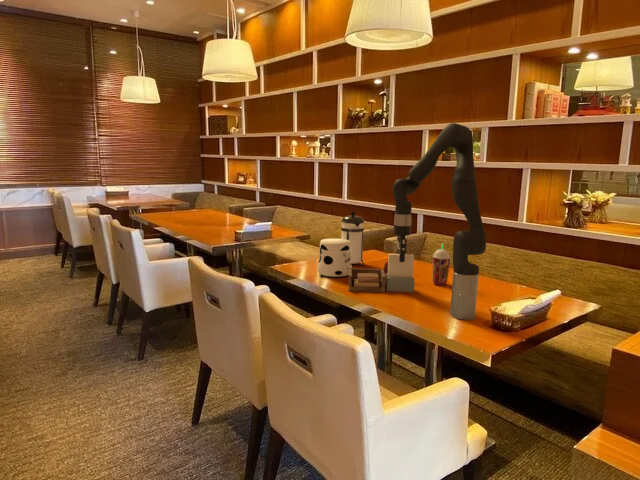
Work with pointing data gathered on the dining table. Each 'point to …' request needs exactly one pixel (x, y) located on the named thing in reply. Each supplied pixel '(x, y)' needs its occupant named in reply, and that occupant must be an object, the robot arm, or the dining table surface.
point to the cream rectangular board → (400, 266)
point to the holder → (399, 284)
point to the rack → (381, 287)
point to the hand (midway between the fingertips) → (400, 259)
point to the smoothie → (441, 266)
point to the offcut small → (367, 277)
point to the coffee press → (354, 236)
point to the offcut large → (365, 284)
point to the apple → (386, 268)
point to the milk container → (334, 258)
